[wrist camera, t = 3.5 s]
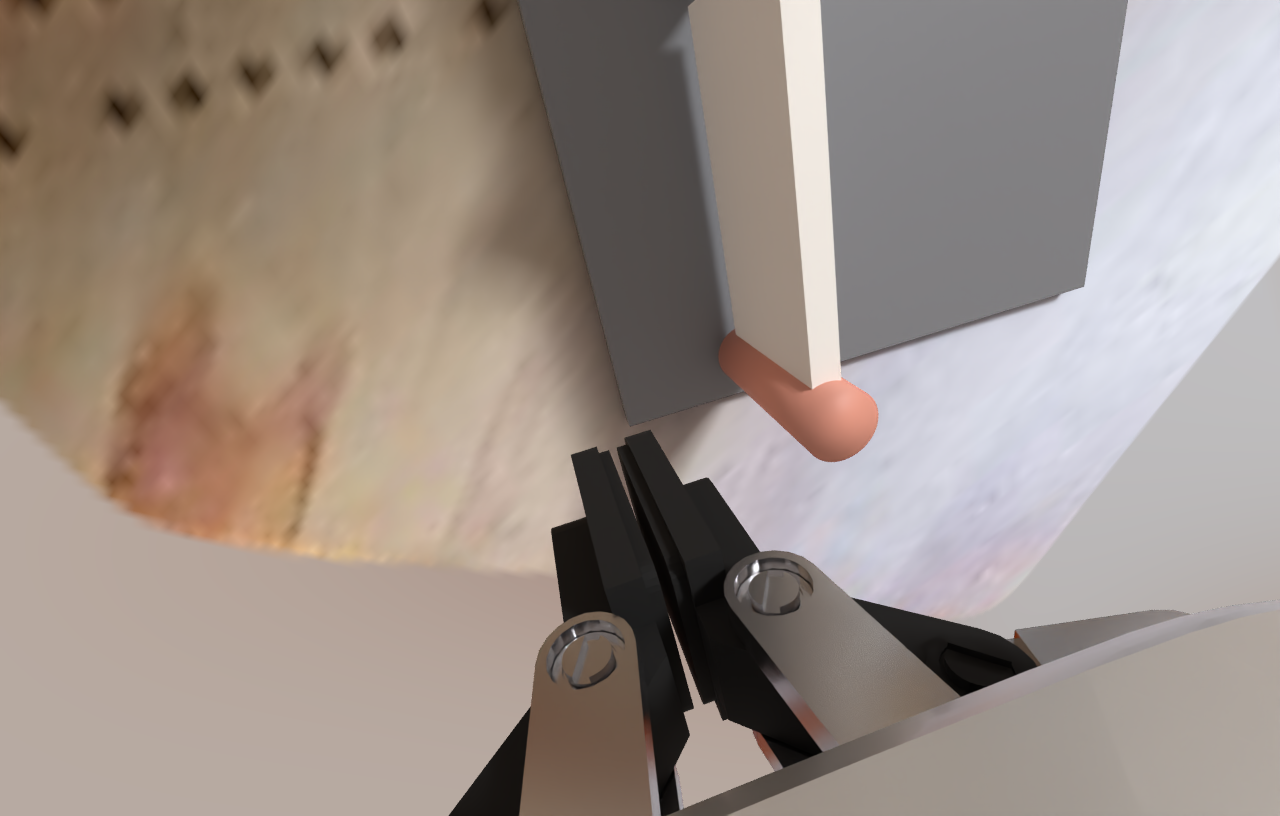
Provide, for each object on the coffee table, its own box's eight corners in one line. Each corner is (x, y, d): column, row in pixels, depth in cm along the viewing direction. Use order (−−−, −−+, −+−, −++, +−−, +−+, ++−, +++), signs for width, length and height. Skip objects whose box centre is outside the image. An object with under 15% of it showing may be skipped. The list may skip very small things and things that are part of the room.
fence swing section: (661, 15, 14) (756, -77, 9) (732, -1, 14) (866, -99, 9) (722, 386, 19) (808, 471, 14) (775, 370, 19) (879, 448, 14)
